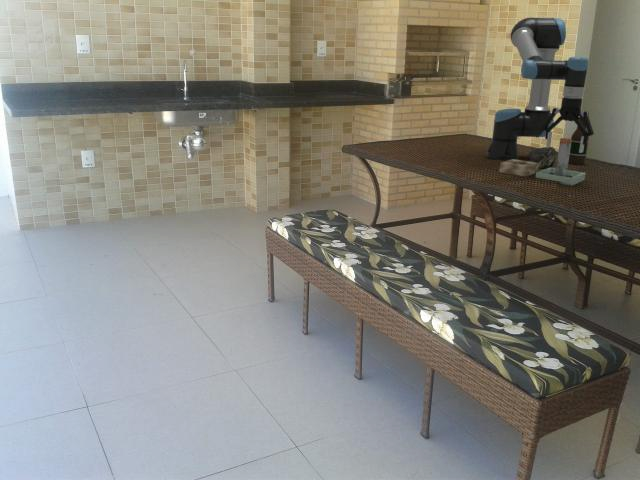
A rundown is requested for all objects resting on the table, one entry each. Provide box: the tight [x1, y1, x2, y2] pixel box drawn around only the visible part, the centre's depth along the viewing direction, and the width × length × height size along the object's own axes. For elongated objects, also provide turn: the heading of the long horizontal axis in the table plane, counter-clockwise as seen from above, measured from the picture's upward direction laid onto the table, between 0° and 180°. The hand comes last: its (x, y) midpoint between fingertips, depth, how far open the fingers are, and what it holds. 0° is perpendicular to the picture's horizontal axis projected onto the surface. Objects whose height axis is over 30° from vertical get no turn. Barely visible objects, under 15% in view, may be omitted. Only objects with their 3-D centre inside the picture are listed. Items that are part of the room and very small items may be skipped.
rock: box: [528, 146, 557, 170], centre depth 274 cm, size 12×10×10 cm
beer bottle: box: [568, 115, 590, 166], centre depth 285 cm, size 8×8×24 cm
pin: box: [554, 137, 572, 177], centre depth 252 cm, size 4×4×16 cm
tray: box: [535, 167, 587, 187], centre depth 254 cm, size 15×15×3 cm
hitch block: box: [499, 159, 539, 177], centre depth 262 cm, size 12×12×5 cm
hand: (564, 150), depth 251 cm, fingers open, 13 cm apart
